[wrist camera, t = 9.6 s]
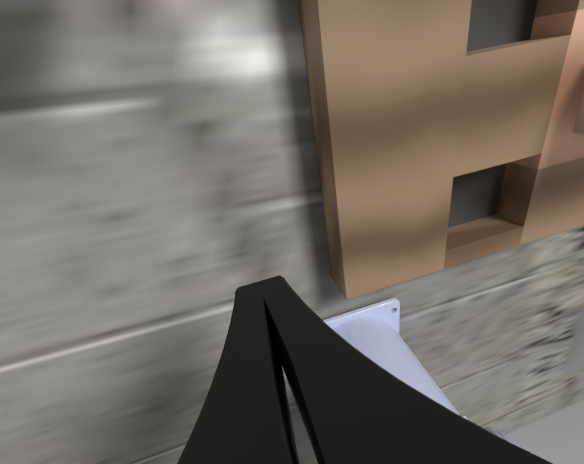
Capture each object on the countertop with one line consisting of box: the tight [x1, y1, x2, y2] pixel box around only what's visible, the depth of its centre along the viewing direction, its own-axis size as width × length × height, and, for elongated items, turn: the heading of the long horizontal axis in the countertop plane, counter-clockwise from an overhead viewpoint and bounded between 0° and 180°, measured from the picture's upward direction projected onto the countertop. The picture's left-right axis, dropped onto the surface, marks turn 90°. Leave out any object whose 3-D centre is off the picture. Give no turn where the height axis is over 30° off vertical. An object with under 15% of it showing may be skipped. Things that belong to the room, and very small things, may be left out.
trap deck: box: [298, 0, 584, 300], centre depth 17 cm, size 19×22×2 cm
